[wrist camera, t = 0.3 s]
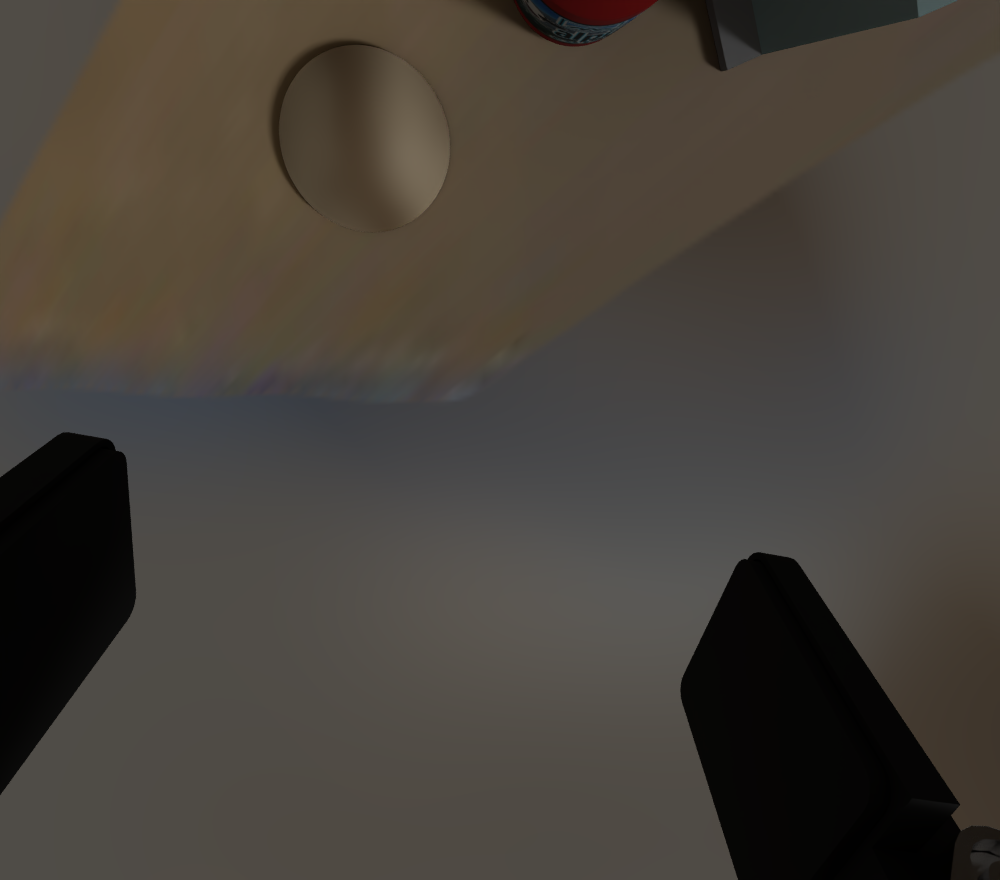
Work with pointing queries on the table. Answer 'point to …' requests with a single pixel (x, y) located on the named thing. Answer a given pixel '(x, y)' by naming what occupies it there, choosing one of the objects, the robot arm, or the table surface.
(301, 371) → the table surface
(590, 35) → the beverage can
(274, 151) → the table surface
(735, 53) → the screen
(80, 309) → the table surface
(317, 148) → the coaster
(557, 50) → the table surface
